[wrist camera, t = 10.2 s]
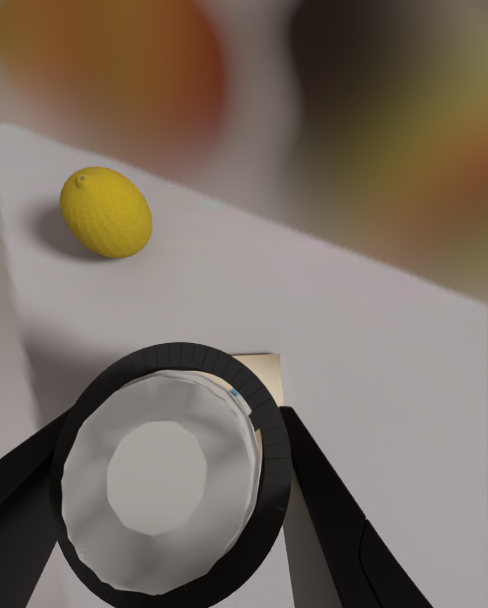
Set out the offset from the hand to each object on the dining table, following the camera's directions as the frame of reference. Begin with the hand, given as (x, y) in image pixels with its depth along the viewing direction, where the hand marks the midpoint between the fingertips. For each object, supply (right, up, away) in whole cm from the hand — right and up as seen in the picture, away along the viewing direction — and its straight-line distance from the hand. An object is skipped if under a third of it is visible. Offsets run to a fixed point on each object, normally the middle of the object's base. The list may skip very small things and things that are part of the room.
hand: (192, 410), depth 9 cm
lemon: (-8, +8, +16) cm, 20 cm away
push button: (0, -3, +6) cm, 7 cm away
